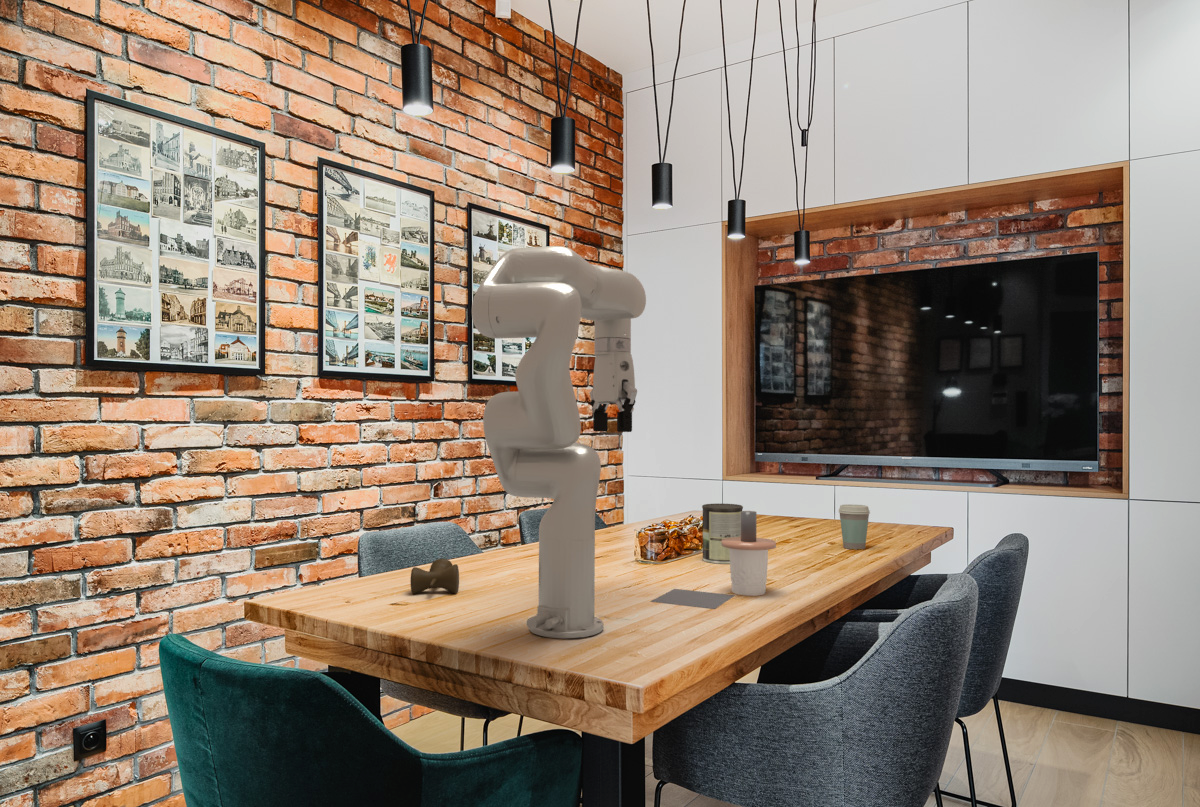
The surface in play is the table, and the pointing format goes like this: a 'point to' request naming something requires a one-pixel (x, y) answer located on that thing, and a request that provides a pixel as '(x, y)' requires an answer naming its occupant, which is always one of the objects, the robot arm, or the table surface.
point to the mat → (693, 598)
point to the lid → (748, 536)
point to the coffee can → (719, 530)
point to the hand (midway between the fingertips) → (612, 431)
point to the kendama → (436, 577)
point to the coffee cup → (854, 525)
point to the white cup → (748, 571)
